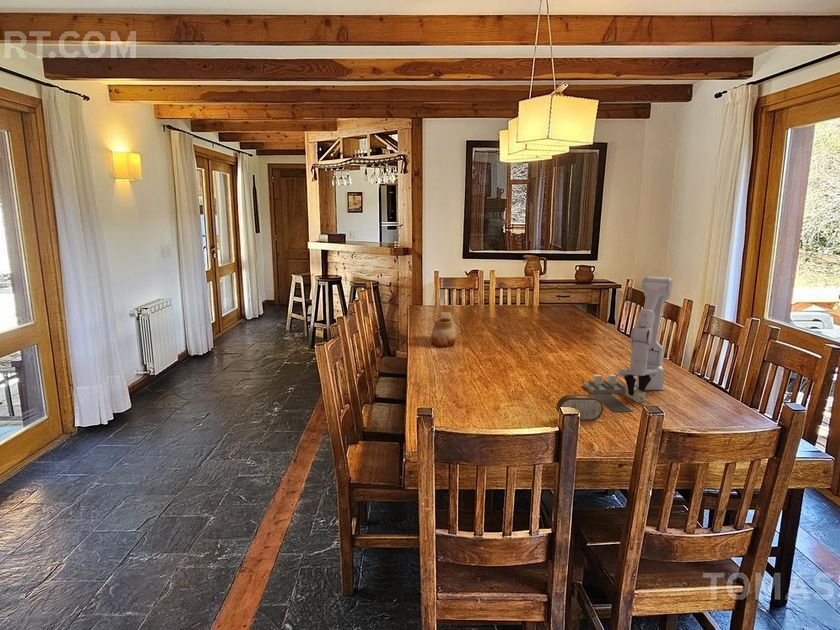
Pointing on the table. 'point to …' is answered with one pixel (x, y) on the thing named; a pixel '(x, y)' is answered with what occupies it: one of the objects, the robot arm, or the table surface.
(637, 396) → the driver
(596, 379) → the tab
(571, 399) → the tin
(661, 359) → the robot arm
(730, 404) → the table surface
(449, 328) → the ceramic vessel
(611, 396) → the tool mat
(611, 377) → the tab
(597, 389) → the switch panel
